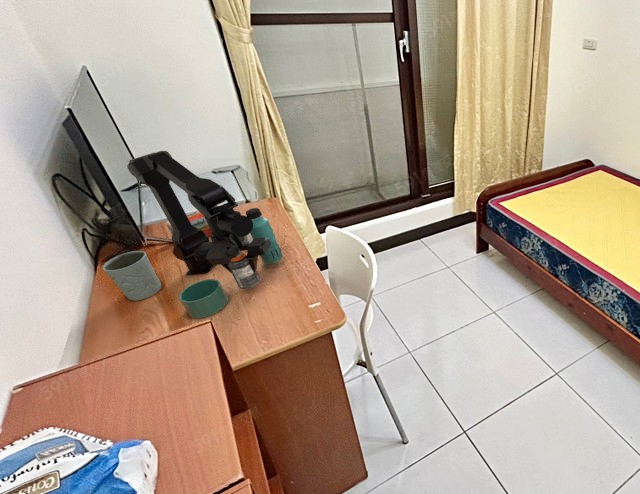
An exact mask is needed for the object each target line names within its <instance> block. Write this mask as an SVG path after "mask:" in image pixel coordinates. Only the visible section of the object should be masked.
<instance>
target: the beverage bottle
mask: <svg viewBox="0 0 640 494" xmlns="http://www.w3.org/2000/svg"><path fill="white" fill-rule="evenodd" d="M262 215H263V213H262V211H261V210H260V208H258V207H253V208H249V209H247V210H246V211H245V216H247V217H249V218H250V219H251V220H252V221H253V229H252V231H251V232H250V234H251V236H252V238H253V239H254V238H265V237H266V238H268V239H269V240H270V242H271V246H270V247H269V249H268V250H267V252H266V253H265V254H264V255H262V256H259V257H260V259H261V261H262V262H263V264H266V265H270V264H271V265H272V264H275V263H277V262H279V261H281V260H282V259H283V252H282V249H281V246H280V244H279V242H278V240H277V237H276V234H275V232H274V230H273V228H272V226H271V223H270V221H269V219H268V218H267V217H265V216H262Z"/></svg>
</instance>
